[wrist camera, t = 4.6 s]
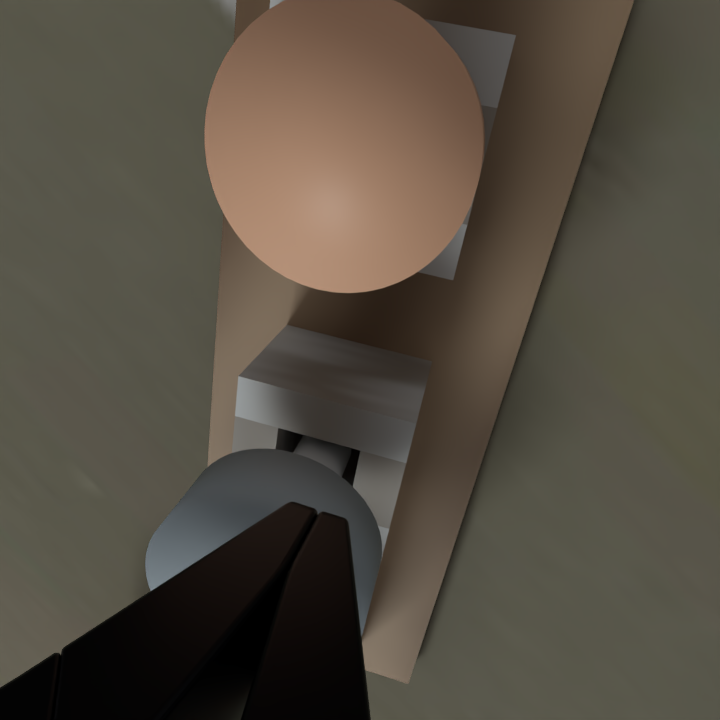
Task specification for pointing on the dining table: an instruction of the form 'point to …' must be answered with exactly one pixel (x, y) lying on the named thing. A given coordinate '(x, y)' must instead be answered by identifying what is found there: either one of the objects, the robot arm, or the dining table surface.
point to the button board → (422, 308)
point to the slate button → (266, 508)
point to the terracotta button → (344, 142)
